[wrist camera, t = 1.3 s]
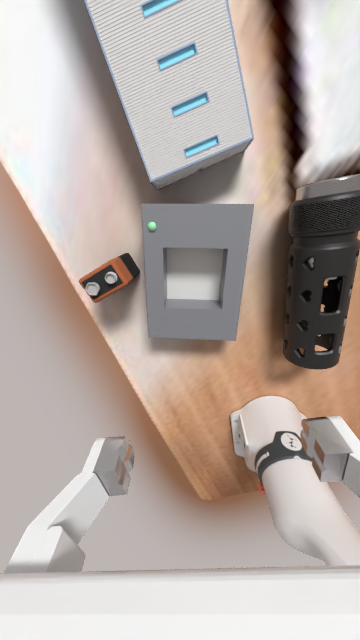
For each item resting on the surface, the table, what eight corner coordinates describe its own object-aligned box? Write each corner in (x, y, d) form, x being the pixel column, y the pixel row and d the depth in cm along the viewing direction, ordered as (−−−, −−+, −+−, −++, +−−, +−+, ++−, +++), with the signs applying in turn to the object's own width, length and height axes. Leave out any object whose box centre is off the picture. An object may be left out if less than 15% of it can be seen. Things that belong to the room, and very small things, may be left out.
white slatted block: (244, 151, 33) (258, 132, 26) (158, 190, 36) (150, 182, 29) (174, -186, 22) (165, -371, 15) (57, -93, 25) (5, -215, 18)
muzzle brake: (273, 342, 46) (293, 373, 37) (278, 192, 35) (310, 181, 25) (320, 338, 45) (353, 368, 36) (341, 182, 34) (399, 166, 24)
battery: (99, 269, 41) (73, 282, 32) (128, 251, 40) (109, 260, 31) (113, 288, 43) (91, 306, 34) (141, 272, 41) (127, 286, 32)
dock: (230, 326, 45) (236, 341, 39) (153, 323, 46) (148, 338, 40) (244, 207, 36) (254, 204, 30) (148, 206, 37) (140, 203, 31)
